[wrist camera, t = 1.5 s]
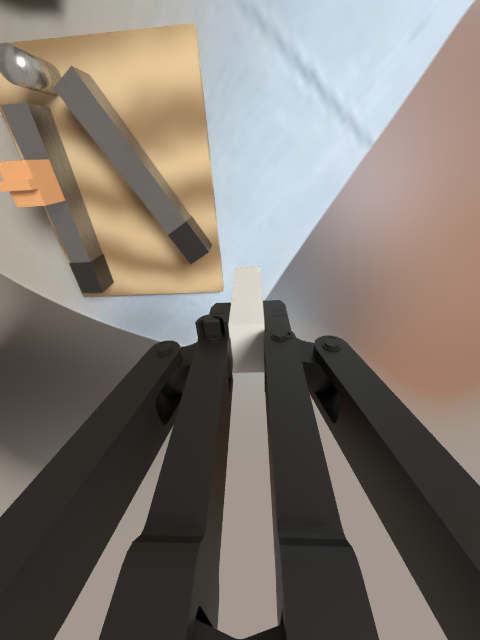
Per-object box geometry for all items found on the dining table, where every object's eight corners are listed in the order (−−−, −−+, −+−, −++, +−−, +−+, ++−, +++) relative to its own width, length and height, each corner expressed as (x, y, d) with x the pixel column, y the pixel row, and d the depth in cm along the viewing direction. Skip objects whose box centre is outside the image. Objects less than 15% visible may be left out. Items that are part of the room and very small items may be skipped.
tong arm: (72, 95, 24) (52, 89, 21) (90, 73, 23) (71, 64, 21) (195, 256, 32) (190, 264, 30) (212, 244, 31) (209, 252, 29)
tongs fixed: (6, 64, 23) (-41, 47, 19) (55, 59, 23) (17, 41, 19) (95, 283, 35) (76, 298, 31) (128, 281, 35) (113, 296, 31)
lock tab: (21, 161, 24) (-14, 162, 21) (49, 159, 24) (18, 160, 21) (39, 202, 26) (10, 208, 23) (65, 200, 26) (39, 207, 23)
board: (-17, 51, 23) (-29, 46, 22) (196, 29, 22) (194, 23, 21) (88, 292, 37) (83, 296, 36) (223, 287, 36) (223, 291, 35)
